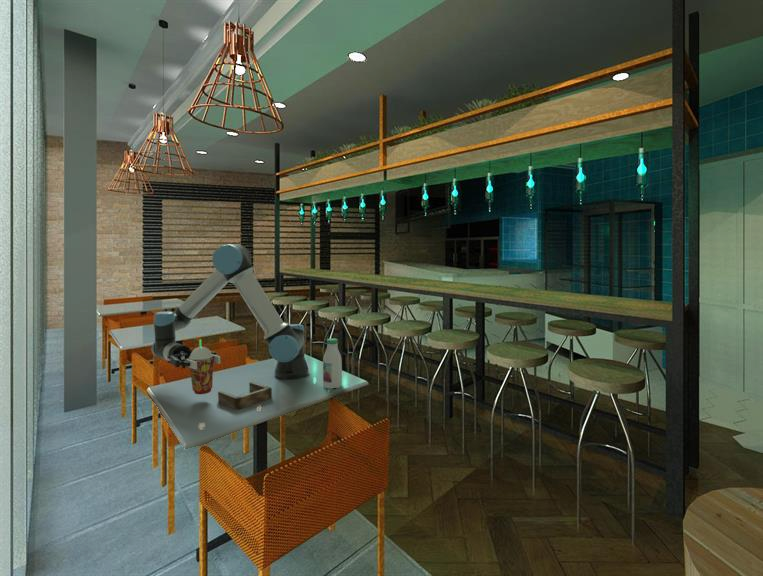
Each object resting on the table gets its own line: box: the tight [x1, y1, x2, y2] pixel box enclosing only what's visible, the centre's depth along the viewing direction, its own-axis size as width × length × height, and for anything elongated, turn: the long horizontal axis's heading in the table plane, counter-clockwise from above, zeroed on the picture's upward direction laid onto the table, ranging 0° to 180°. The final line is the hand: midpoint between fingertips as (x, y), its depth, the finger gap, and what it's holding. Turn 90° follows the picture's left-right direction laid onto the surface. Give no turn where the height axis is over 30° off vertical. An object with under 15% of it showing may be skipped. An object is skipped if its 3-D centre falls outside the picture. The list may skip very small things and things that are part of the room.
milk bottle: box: [322, 337, 343, 390], centre depth 171 cm, size 8×8×20 cm
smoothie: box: [189, 339, 214, 395], centre depth 154 cm, size 8×8×20 cm
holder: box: [217, 381, 273, 411], centre depth 155 cm, size 15×12×4 cm
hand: (208, 362), depth 151 cm, fingers closed on smoothie, 8 cm apart
